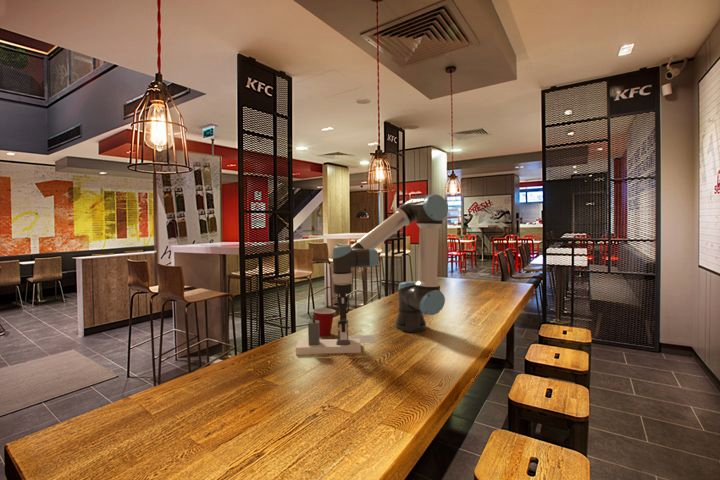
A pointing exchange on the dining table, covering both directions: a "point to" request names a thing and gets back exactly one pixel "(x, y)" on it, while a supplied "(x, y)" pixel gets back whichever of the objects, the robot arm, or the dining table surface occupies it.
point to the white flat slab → (363, 338)
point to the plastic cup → (324, 320)
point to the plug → (340, 342)
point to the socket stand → (324, 343)
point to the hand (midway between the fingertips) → (343, 334)
